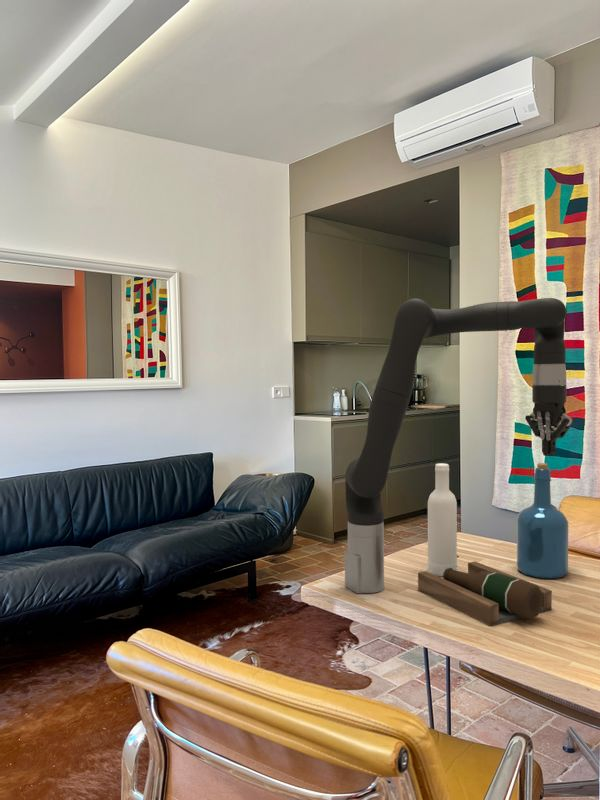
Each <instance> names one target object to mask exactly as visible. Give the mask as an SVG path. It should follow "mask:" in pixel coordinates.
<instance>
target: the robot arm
mask: <svg viewBox="0 0 600 800" xmlns="http://www.w3.org/2000/svg"><path fill="white" fill-rule="evenodd" d="M566 317H567V307H566V304H564V302H563V301H561V300H560V299H558V298H555V297H545V298H543V297H542V298H534V299H526V300H521V301H520V300H518V301H516V300H515V301H512V300H511V301H493V302H484V303H478V304H474V305H470V306H469V305H468V306H464V307H460V308H450V309H448V308H446V309H443V308H442V309H441V308H434V307H433V308H432V307H431V306H430V305H429V304H428V303H427V302H426V301H424V300H423V299H422V298H414V297H413V298H410V299H408V300H406V301H404V302H403V303H402V304H401V306H399V308H398V310H397V312H396V316H395V319H394V325H393V329H392V330H393V331H392V334H391V340H390V343H389V348H388V351H387V353H386V357H385V359H384V362H383V365H382V368H381V369H380V373H379V376H378V379H377V380H376V381H377V382H376V384H375V388H374V391H373V394H372V397H371V399H370V400H371V401H370V404H369V409H368V417H367V429H366V435H365V436H366V437H365V441H364V444H363V447H362V451H361V453H360V456H359V458H356V459H354V460H352V461H351V462H350V463H349V464H348V466H347V468H346V471H345V475H344V476H345V481H344V483H345V507H346V508H345V509H346V515H347V549H345V550H344V587H345V588H348V589H349V590H351V591H352V592H354V593H356V594H374V593H379V592H381V591H383V590H384V589H385V539H384V537H385V536H384V535H385V534H384V533H385V530H384V528H385V523H384V519H385V518H384V513H385V512H384V509H383V505H382V498H381V497H382V495H381V494H382V493H381V492H382V491H383V490H384V488H385V486H386V482H387V479H388V474H389V470H390V469H389V468H390V466H391V465H390V464H391V459H392V453H393V450H394V446H395V444H396V441H397V438H398V437H399V433H400V431H401V427H402V426H403V421H404V418H405V416H406V413H407V410H408V406H409V403H410V401H411V398H412V394H413V389H414V383H415V373H416V363H417V357H418V353H419V350H420V348H421V346H422V343H423V341H424V339H428V338H433V337H439V336H443V335H448V334H449V335H450V334H459V333H460V334H461V333H472V332H473V333H474V332H475V333H477V332H503V331H505V332H506V331H507V332H508V331H516V330H520V329H534V331H533V332H534V347H533V369H532V384H531V385H532V387H531V388H532V393H531V395H532V398H531V400H532V402H533V404H534V405H533V407H532V412H531V413H530V414H529V415H528V414H527V415H525V421H526V422H527V424H528V426H529V429H531V431H532V432H533V435H534V437H538V438H540V440H541V453H542V454H543V456H545V457H553V456H554V455H555V454H556V450H557V447H556V446H557V445H556V443H557V440H558V439H563V438H564V437H565V436H566V434H567V433H568V431H569V430H570V429H571V428H572V426H573V424H574V423H575V418H573V417H570V416H569V415H568V414H567V410H566V407H565V404H566V403H567V370H566V367H567V366H566V345H565V344H566V343H565V321H566Z"/></svg>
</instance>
